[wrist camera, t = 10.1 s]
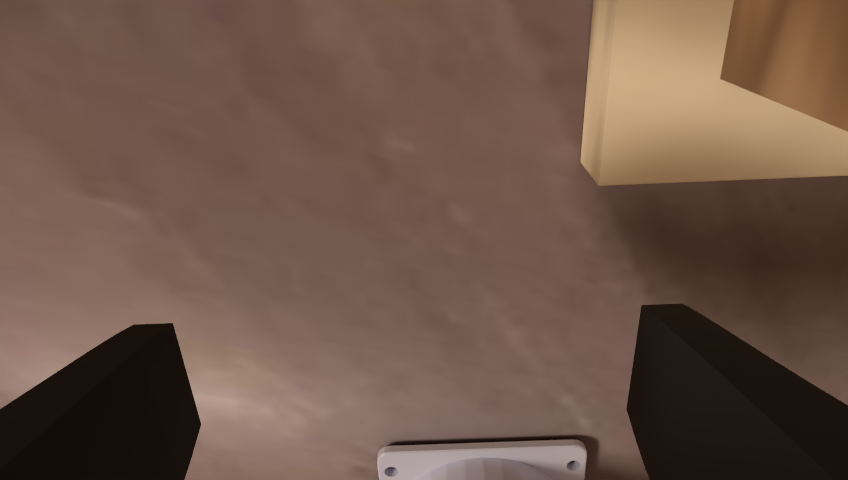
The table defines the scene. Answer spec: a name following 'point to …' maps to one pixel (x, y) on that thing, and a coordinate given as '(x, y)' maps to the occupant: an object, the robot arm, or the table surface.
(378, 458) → the robot arm
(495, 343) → the table surface
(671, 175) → the birch base
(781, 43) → the walnut block
